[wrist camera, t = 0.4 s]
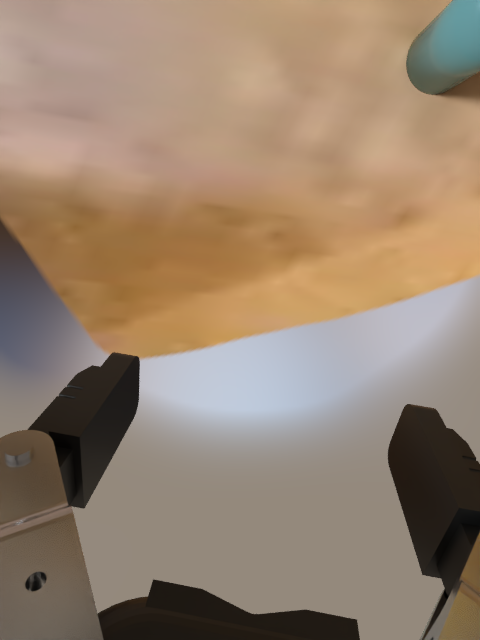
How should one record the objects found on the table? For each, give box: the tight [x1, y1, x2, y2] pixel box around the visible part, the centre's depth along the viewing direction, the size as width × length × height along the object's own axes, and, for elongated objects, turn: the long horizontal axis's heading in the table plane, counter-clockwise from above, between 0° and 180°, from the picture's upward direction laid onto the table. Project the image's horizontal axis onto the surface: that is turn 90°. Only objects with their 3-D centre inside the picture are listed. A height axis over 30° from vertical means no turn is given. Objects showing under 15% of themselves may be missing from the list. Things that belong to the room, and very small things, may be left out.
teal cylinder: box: [406, 0, 480, 94], centre depth 27 cm, size 5×5×10 cm
